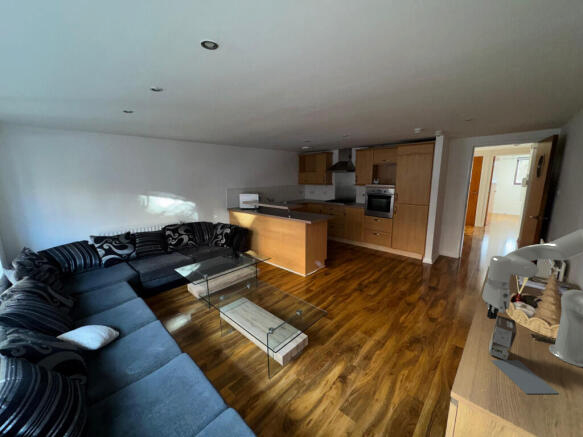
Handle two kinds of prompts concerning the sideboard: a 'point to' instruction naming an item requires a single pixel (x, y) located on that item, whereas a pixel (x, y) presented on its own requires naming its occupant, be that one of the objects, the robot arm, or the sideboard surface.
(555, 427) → the sideboard surface
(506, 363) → the felt mat
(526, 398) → the sideboard surface
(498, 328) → the coffee box
